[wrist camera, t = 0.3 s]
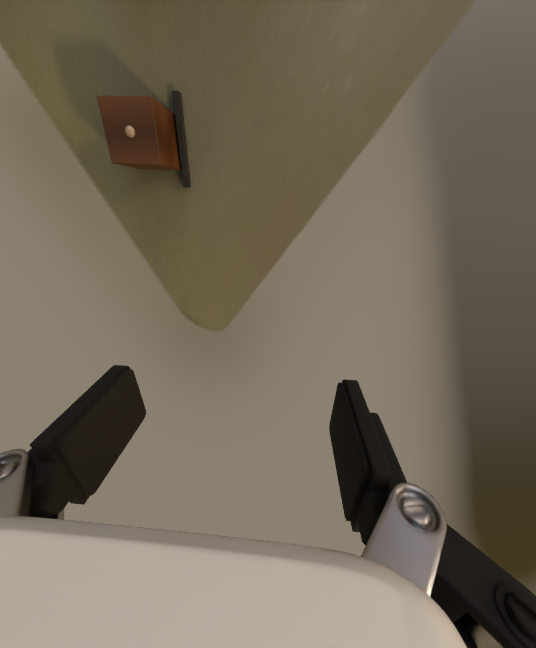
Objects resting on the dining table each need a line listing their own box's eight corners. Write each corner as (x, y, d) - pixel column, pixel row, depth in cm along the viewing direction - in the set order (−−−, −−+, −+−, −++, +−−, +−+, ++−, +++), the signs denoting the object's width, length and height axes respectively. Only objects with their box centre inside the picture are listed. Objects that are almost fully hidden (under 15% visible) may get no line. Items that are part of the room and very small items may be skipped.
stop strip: (174, 93, 29) (172, 91, 28) (181, 93, 29) (178, 91, 28) (185, 186, 34) (183, 186, 33) (190, 187, 34) (188, 186, 33)
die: (124, 108, 30) (86, 87, 24) (174, 109, 30) (147, 87, 24) (136, 168, 33) (104, 162, 28) (181, 170, 33) (158, 164, 27)
